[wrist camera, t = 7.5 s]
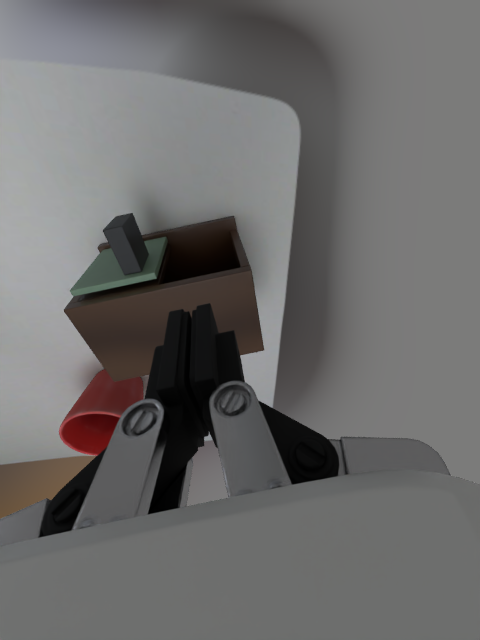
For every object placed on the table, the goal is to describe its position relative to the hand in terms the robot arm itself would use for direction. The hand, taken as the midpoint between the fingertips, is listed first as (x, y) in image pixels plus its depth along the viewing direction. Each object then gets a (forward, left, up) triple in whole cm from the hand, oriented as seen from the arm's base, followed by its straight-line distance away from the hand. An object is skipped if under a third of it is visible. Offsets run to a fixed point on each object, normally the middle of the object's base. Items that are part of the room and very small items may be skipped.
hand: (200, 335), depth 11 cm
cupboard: (+7, -5, -23) cm, 25 cm away
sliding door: (0, -8, -22) cm, 23 cm away
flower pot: (+24, -21, -23) cm, 39 cm away
